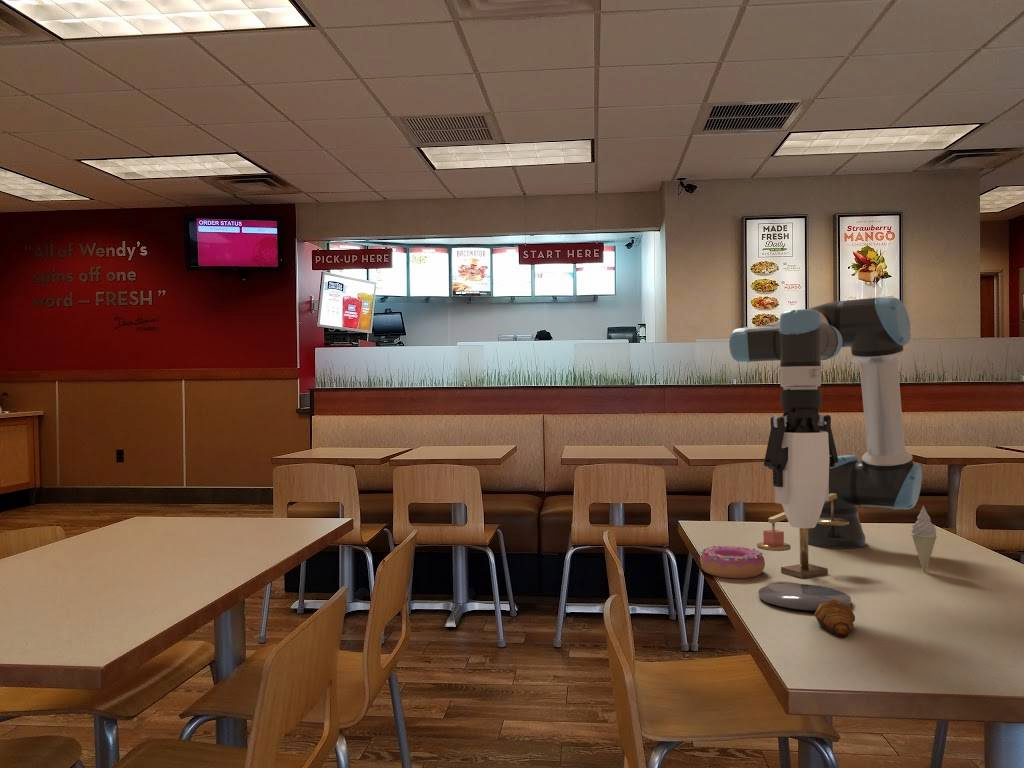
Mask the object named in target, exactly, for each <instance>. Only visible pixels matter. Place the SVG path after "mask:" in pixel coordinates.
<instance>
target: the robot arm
mask: <svg viewBox="0 0 1024 768" xmlns="http://www.w3.org/2000/svg"><path fill="white" fill-rule="evenodd" d="M909 318H910V317H909V314H908V311H907V308H906V306H905V305H904V303H903V302H902V301H901V300H900V299H899V298H897V297H881V296H879V297H867V298H859V299H850V300H836V301H830V302H826V303H823V304H819V305H816V306H813V307H810V308H807V309H806V308H805V309H802V308H801V309H791V310H785V311H783V312H781V314H780V317H779V320H778V321H774V322H770V323H766V324H763V325H759V326H751V327H748V326H745V327H742V328H741V327H740V328H739V327H738V328H736V329H733V331H732V332H731V333H730V336H729V341H728V342H729V343H728V344H729V351H730V352H729V353H730V355H731V357H732V359H734V361H736V362H740V363H741V362H743V363H746V362H747V363H750V362H770V361H771V362H773V361H779V362H780V364H779V365H780V370H779V371H780V373H779V374H780V379H779V380H780V385H779V386H780V387H781V388H783V389H781V391H780V407H781V408H782V409H783V414H782V416H771V417H770V432H769V436H768V441H767V446H766V451H765V456H764V460H763V465H764V467H767V468H768V469H770V470H772V485H773V487H774V503H775V504H779V505H782V504H785V505H788V504H789V498H788V471H787V470H784V469H785V466H786V464H787V461H788V447H786V448H782V442H783V437H784V432H788V433H820V431H826V432H828V440H829V482H828V487H827V492H826V497H825V500H829V494H831V493H835V494H837V498H836V499H834V500H833V514H834V518H839V519H845V520H848V521H849V525H844V526H830V525H822V524H818V523H817V524H816V526H815V527H814V528H808V545H813V546H817V547H824V548H831V549H832V548H833V549H834V548H835V549H855V548H862V547H865V546H866V534H865V533H864V530H863V527H862V523H861V521H860V518H859V514H858V513H859V511H858V508H859V506H860V507H870V508H880V509H881V508H882V509H891V510H911V509H913V508H914V507H915V506H916V504H917V503H918V500H919V496H920V493H921V488H922V483H923V469H922V466H921V464H919V463H917V462H915V463H914V459H913V455H912V454H911V453H910V452H909V451H907V450H906V447H905V446H906V445H905V434H904V422H903V411H902V399H901V397H902V396H901V388H900V387H901V386H900V385H901V384H900V375H899V364H898V363H899V362H898V358H899V356H900V355H901V354H902V353H903V352H904V346H905V345H908V344H909V343H910V340H911V334H912V333H911V330H912V329H911V323H910V322H911V321H910V319H909ZM842 348H850V349H851V356H852V357H853V358H855V359H856V360H857V361H858V364H859V366H858V367H859V374H860V384H861V396H862V406H863V417H864V425H865V426H864V430H865V437H866V447H867V448H866V452H865V453H863V455H862V456H861V460H859V458H858V456H857V455H856V454H847V455H846V454H844V455H838V452H837V447H836V443H835V439H834V434H833V430H832V416H831V415H829V414H820V413H819V409H821V407H822V390H821V389H819V388H818V387H821V386H822V381H821V380H822V377H821V375H822V370H821V366H822V364H821V363H822V362H821V361H827V360H829V359H833V358H834V357H836V356H837V355H838V354H839V353H840V351H841V350H842ZM779 462H780V463H779ZM819 518H831V501H829V502H826V503H824V505H823V508H822V511H821V514H820V517H819Z"/></svg>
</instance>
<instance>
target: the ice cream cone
mask: <svg viewBox="0 0 1024 768" xmlns="http://www.w3.org/2000/svg"><path fill="white" fill-rule="evenodd" d="M916 518H917V520H916V521H915V522H914V524H912V527H911V529H912V530H911V533H912V534H911V537H912V540H913V542H914V543H913V544H914V546H915V550H916V553H917V557H918V559H919V563H920V565H921V566H920V567H921V569H922V571H923V573H926V572H927V570H928V566H929V563H930V559H931V556H932V553H933V550H934V546H935V543H936V540H937V538H938V537H937V531H936V530H937V529H936V525H935V524H933V523H932V522H931V517H930V515H929V514H928V511H927V510H926V508H925V506H924V505H922V507H921V510H920V511H919V514H918V515H917V517H916Z"/></svg>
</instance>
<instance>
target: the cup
mask: <svg viewBox="0 0 1024 768" xmlns="http://www.w3.org/2000/svg"><path fill="white" fill-rule="evenodd" d="M786 447H788V461H787V464H786V466H785V469H784V470H787V471H788V498H789V504H788V505H785V504H781V505H782V508H783V509H782V510H783V512H785V514H786V517H787V518H786V520H787V522H788V524H789V525H790V526H791V527H792V528H797V529H799V528H814V527H815V526H816V524H817V522H818V520H819V517H820V514H821V511H822V508H823V505H824V502H825V497H826V492H827V487H828V482H829V440H828V432H826V431H820V433H788V432H784V437H783V442H782V448H786ZM779 463H780V462H779Z"/></svg>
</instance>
